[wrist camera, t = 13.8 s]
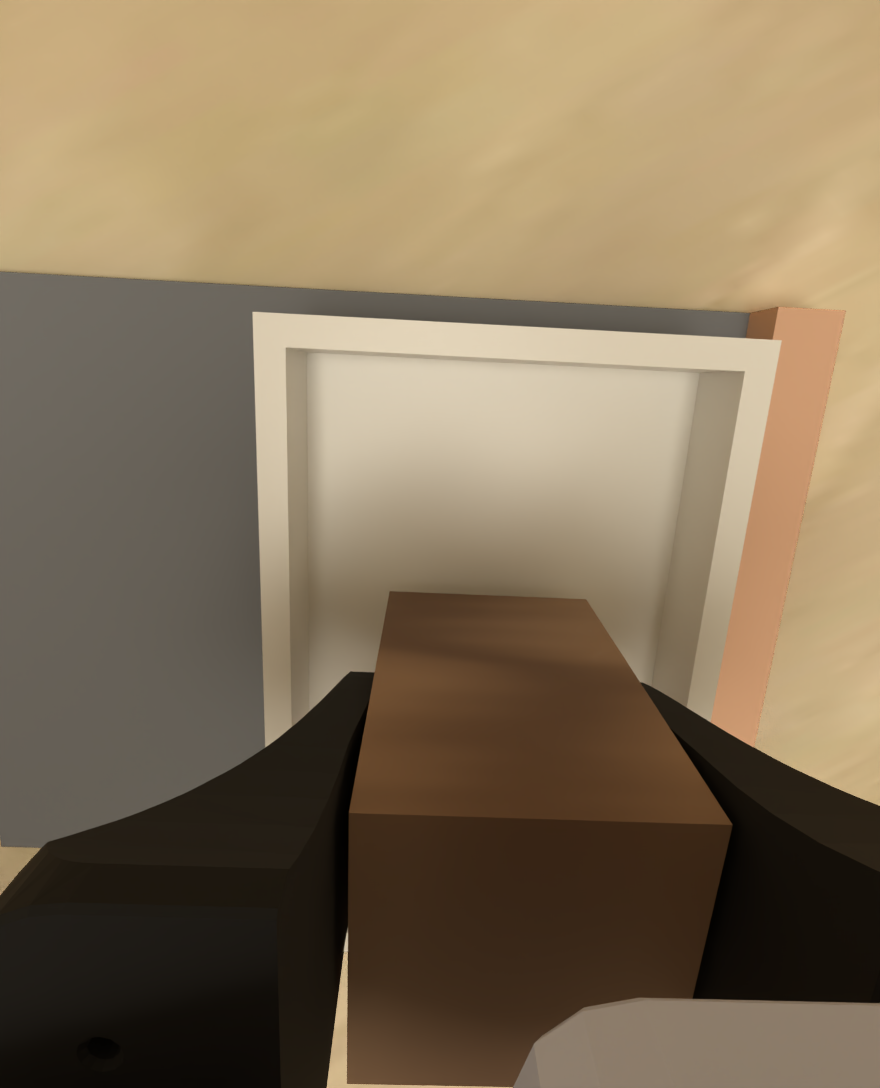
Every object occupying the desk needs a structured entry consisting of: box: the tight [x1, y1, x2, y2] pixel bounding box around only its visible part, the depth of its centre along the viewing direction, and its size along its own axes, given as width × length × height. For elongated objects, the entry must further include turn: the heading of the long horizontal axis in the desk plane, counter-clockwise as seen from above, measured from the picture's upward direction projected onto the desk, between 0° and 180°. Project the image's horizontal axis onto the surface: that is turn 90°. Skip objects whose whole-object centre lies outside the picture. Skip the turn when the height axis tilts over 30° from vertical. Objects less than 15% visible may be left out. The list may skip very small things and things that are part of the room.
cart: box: [252, 312, 782, 952], centre depth 15 cm, size 10×15×4 cm, turn 177°
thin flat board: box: [0, 272, 846, 848], centre depth 17 cm, size 23×17×2 cm
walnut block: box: [347, 591, 733, 1087], centre depth 11 cm, size 4×4×7 cm
